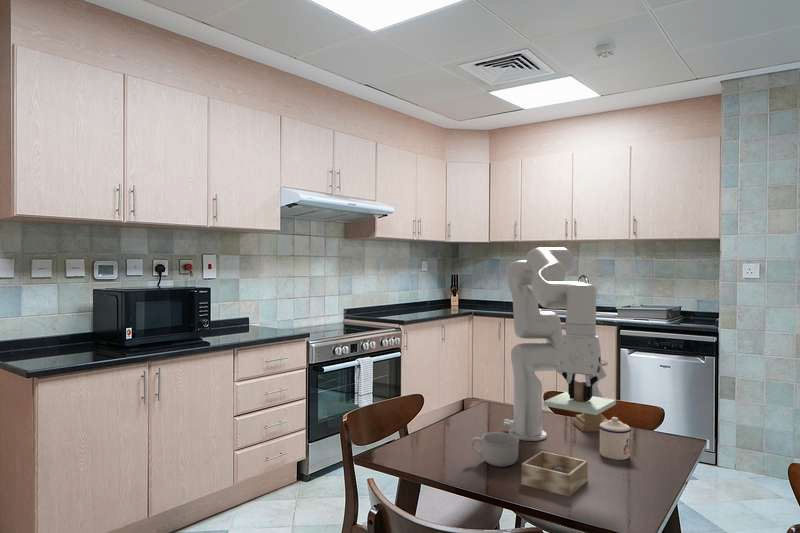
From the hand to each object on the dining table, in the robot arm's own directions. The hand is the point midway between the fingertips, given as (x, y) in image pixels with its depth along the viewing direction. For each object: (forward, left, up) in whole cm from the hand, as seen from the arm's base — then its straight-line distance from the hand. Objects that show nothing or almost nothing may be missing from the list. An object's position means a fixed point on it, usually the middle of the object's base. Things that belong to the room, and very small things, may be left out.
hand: (580, 398), depth 148 cm
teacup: (-25, 0, -23) cm, 34 cm away
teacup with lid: (0, +31, -23) cm, 39 cm away
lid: (0, 0, -2) cm, 2 cm away
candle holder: (-15, +55, -23) cm, 62 cm away
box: (-5, -4, -23) cm, 24 cm away
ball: (-5, -1, -22) cm, 23 cm away
